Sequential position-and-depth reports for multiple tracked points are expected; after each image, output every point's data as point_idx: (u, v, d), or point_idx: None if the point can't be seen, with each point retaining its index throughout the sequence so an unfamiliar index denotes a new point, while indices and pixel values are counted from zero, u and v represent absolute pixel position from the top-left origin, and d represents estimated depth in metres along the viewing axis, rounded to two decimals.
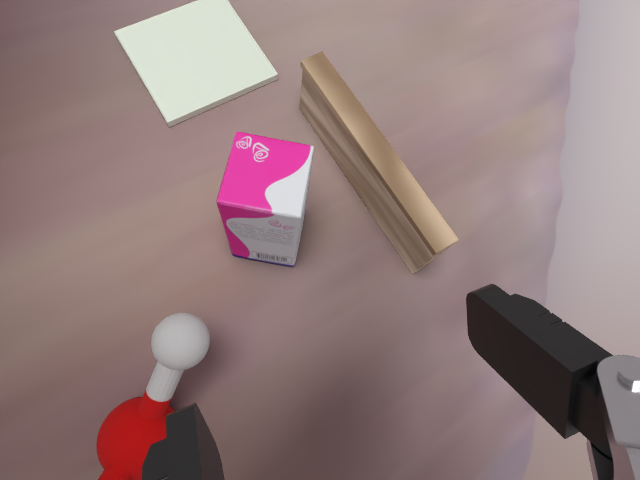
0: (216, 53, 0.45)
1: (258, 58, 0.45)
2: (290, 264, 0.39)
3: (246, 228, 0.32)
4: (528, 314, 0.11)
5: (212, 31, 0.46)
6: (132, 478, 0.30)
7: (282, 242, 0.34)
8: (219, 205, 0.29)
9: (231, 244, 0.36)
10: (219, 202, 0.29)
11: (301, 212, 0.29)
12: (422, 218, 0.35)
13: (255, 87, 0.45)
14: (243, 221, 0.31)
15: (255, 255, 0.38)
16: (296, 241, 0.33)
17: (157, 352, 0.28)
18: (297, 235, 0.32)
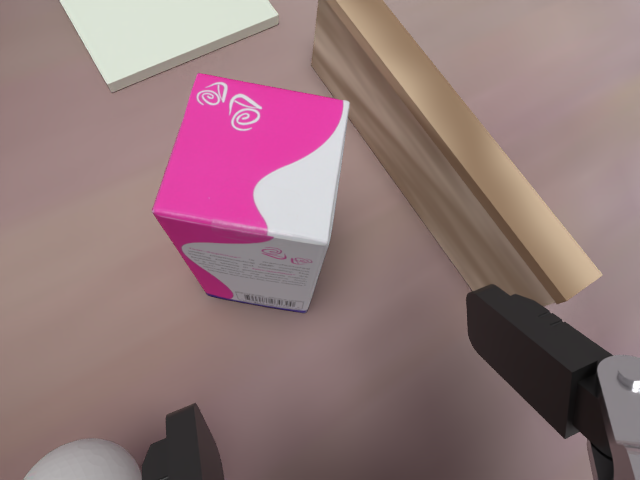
0: None
1: None
2: (300, 309, 0.24)
3: (221, 259, 0.17)
4: (528, 314, 0.11)
5: None
6: None
7: (288, 282, 0.19)
8: (160, 218, 0.14)
9: (200, 281, 0.21)
10: (157, 213, 0.14)
11: (328, 233, 0.14)
12: (536, 237, 0.20)
13: (245, 34, 0.30)
14: (214, 248, 0.16)
15: (243, 297, 0.23)
16: (314, 281, 0.18)
17: None
18: (316, 273, 0.17)
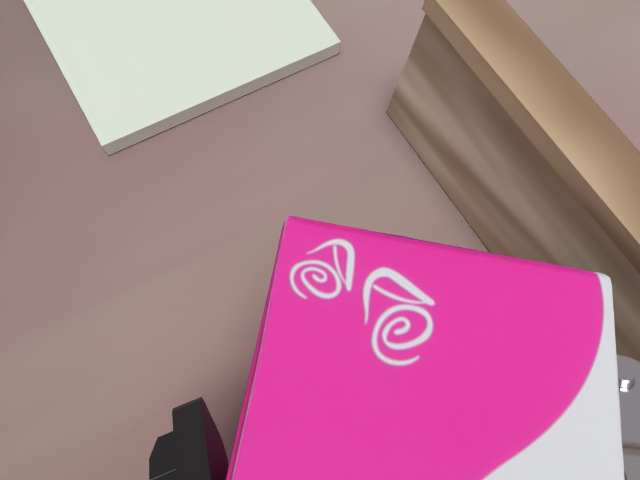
0: None
1: (300, 9, 0.22)
2: None
3: None
4: None
5: None
6: None
7: None
8: None
9: None
10: None
11: None
12: None
13: (294, 69, 0.21)
14: None
15: None
16: None
17: None
18: None
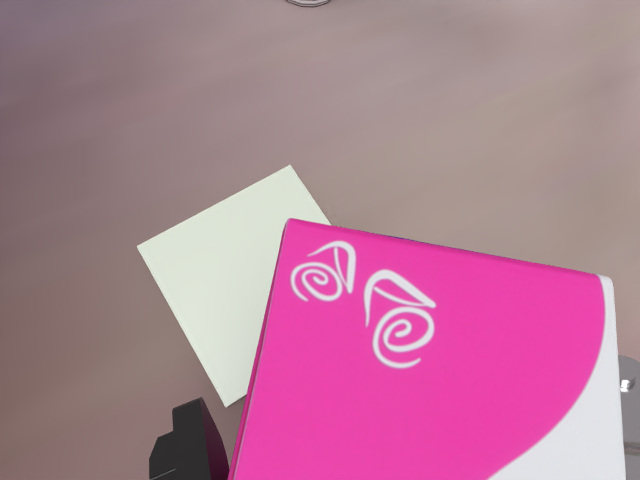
0: None
1: None
2: None
3: None
4: None
5: None
6: None
7: None
8: None
9: None
10: None
11: None
12: None
13: None
14: None
15: None
16: None
17: None
18: None
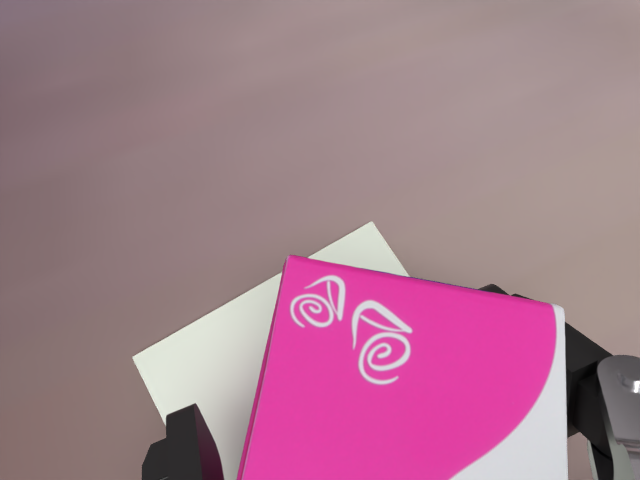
0: None
1: None
2: None
3: None
4: None
5: None
6: None
7: None
8: None
9: None
10: None
11: None
12: None
13: None
14: None
15: None
16: None
17: None
18: None
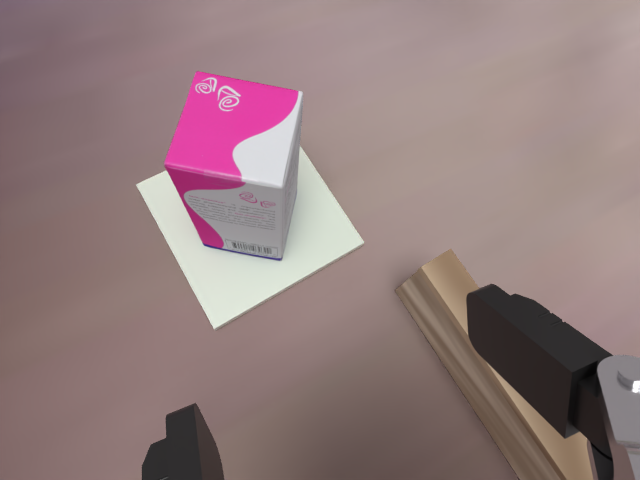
0: None
1: (336, 218, 0.33)
2: (276, 257, 0.30)
3: (212, 206, 0.24)
4: (528, 314, 0.11)
5: None
6: None
7: (262, 226, 0.25)
8: (169, 169, 0.21)
9: (198, 230, 0.28)
10: (167, 165, 0.20)
11: (283, 180, 0.21)
12: None
13: (333, 262, 0.32)
14: (206, 195, 0.23)
15: (231, 245, 0.29)
16: (280, 224, 0.25)
17: None
18: (280, 215, 0.24)
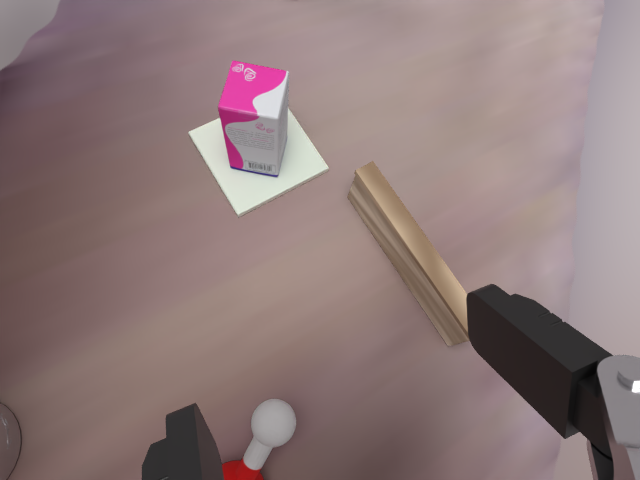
0: None
1: (312, 153, 0.53)
2: (274, 174, 0.51)
3: (240, 133, 0.44)
4: (528, 314, 0.11)
5: None
6: None
7: (267, 148, 0.46)
8: (220, 109, 0.41)
9: (229, 154, 0.48)
10: (220, 107, 0.41)
11: (278, 115, 0.41)
12: (461, 310, 0.42)
13: (309, 179, 0.52)
14: (237, 126, 0.43)
15: (248, 165, 0.50)
16: (277, 146, 0.45)
17: (259, 434, 0.35)
18: (277, 139, 0.44)
